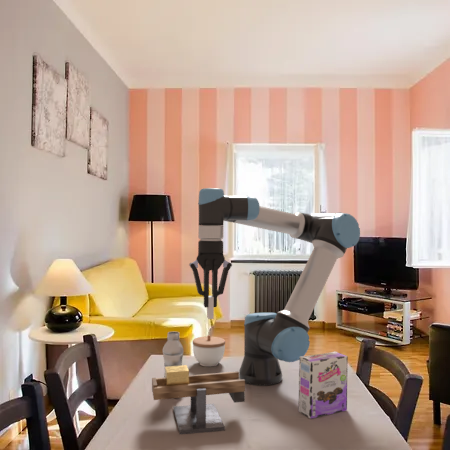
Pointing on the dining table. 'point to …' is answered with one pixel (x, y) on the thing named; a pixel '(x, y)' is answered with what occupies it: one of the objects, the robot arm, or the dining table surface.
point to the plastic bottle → (173, 350)
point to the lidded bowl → (208, 350)
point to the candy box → (322, 384)
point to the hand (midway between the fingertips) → (210, 317)
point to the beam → (202, 386)
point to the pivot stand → (198, 416)
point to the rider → (176, 375)
